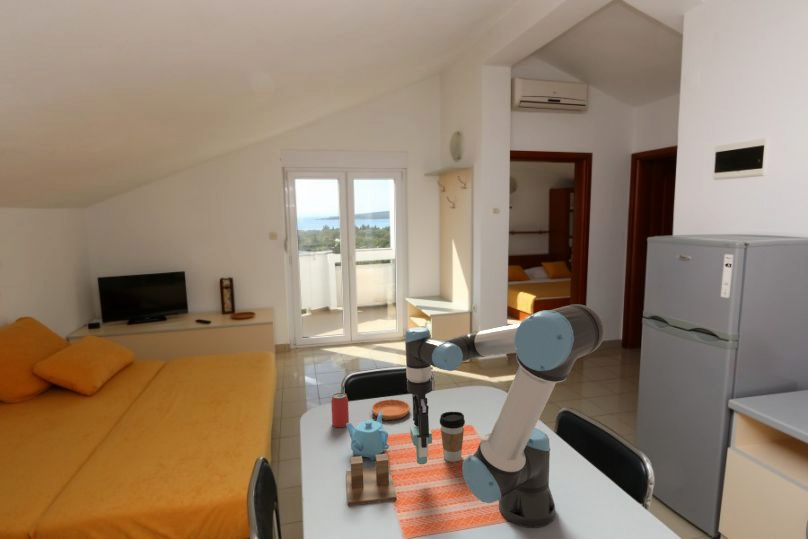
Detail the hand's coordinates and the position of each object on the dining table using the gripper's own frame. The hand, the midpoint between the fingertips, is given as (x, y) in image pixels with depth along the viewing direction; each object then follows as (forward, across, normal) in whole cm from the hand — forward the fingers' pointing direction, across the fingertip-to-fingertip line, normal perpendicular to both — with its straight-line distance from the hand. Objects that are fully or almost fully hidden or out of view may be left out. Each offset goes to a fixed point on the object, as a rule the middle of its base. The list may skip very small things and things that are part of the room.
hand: (421, 450), depth 139 cm
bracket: (+9, 0, +16) cm, 19 cm away
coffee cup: (+10, +11, -13) cm, 19 cm away
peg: (+4, 0, 0) cm, 4 cm away
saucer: (+9, +49, +3) cm, 50 cm away
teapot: (+9, +20, +15) cm, 27 cm away
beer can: (+8, +43, +24) cm, 50 cm away
